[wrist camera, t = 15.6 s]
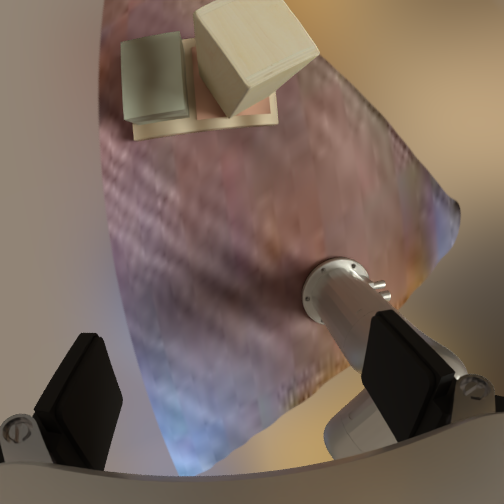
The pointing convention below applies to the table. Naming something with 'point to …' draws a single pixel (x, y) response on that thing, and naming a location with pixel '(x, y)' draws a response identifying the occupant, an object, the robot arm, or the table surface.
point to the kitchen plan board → (176, 91)
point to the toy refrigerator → (249, 50)
